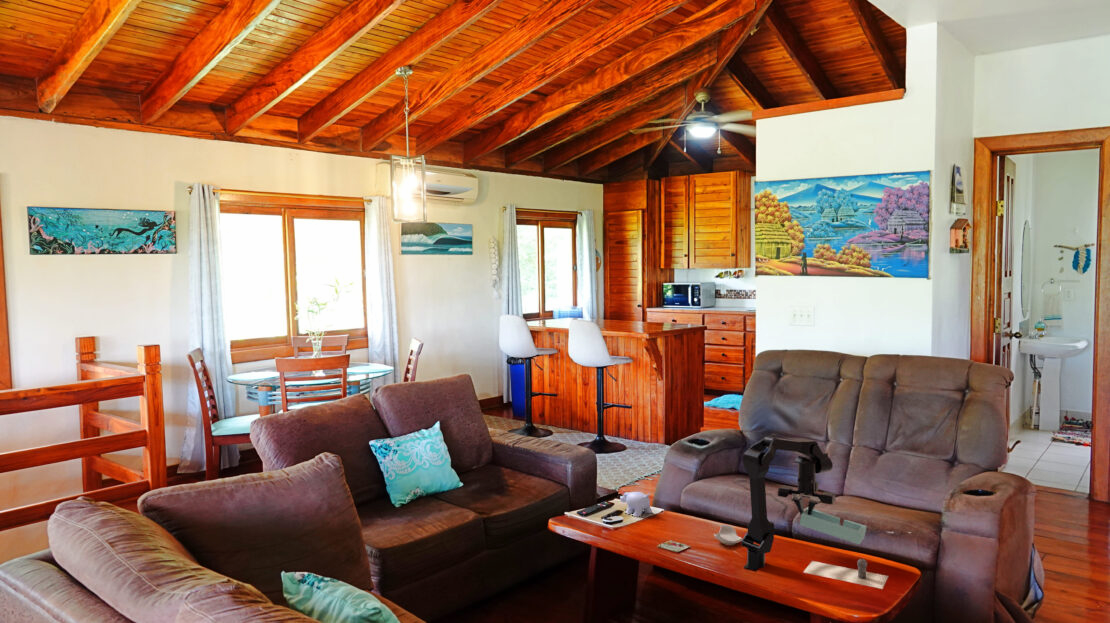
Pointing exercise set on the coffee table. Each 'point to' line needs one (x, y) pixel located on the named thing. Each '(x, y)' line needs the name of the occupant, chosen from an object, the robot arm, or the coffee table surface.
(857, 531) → the mint green notched block
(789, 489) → the robot arm
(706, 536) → the coffee table surface
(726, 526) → the pottery shard
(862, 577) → the post stand
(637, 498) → the grey bear figurine
